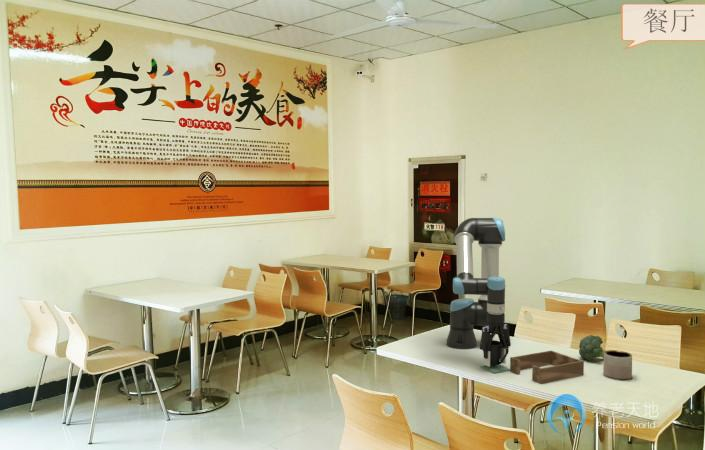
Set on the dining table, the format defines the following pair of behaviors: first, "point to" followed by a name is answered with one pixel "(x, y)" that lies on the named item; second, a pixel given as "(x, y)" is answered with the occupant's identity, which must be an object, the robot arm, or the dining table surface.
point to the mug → (496, 353)
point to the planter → (617, 365)
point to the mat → (495, 368)
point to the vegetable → (591, 347)
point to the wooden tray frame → (560, 370)
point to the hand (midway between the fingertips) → (495, 364)
